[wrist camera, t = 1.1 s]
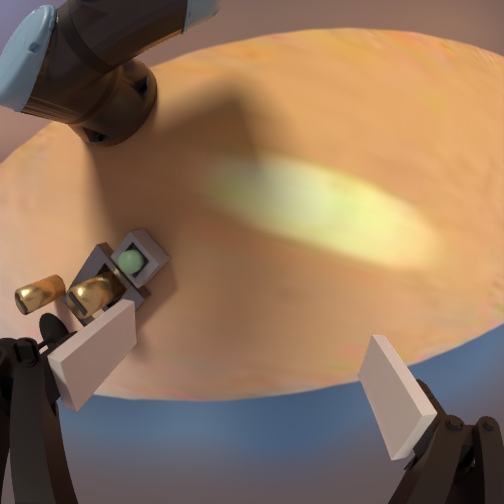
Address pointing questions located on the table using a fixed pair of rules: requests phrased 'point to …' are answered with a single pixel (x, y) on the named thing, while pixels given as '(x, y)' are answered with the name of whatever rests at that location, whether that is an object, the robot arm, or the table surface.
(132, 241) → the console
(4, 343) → the wine glass
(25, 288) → the loose billet
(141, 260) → the button
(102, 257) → the grey flat frame
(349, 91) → the table surface
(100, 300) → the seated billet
